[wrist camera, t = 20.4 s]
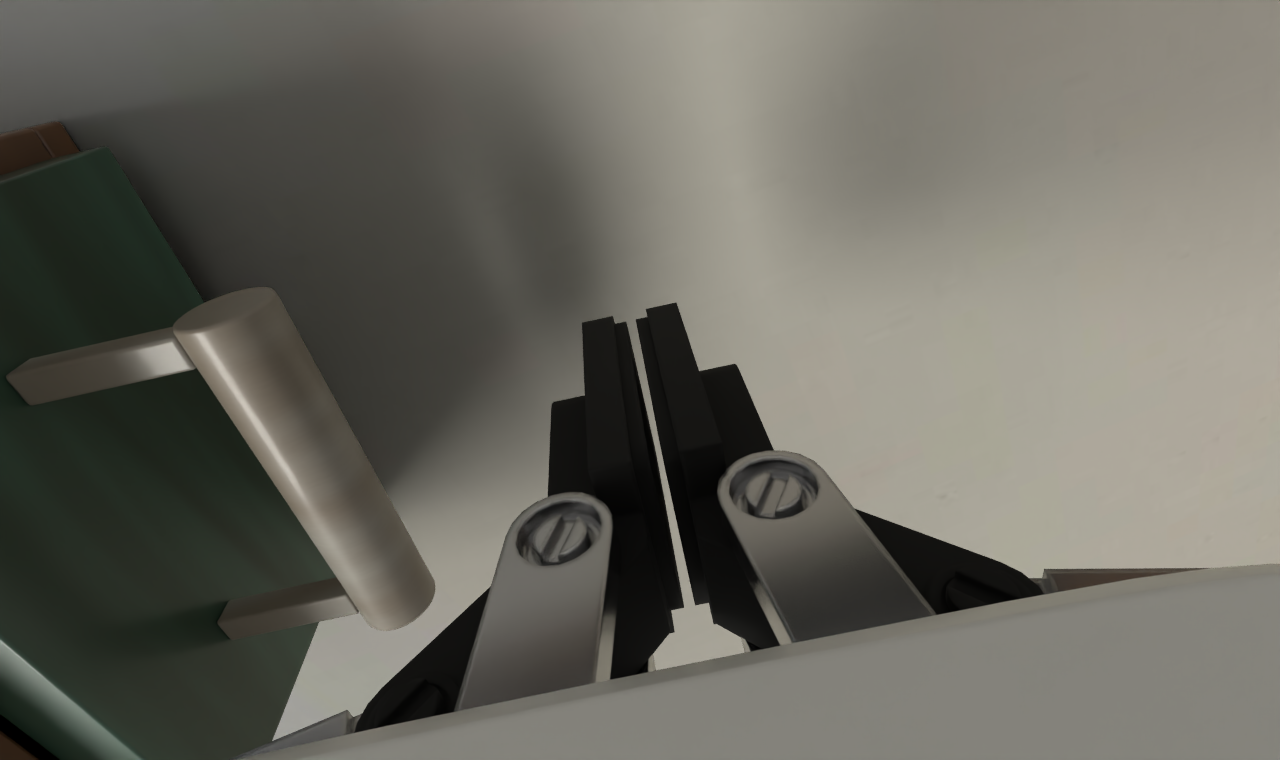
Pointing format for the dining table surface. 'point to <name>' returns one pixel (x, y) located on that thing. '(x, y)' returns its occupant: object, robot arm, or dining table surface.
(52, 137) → the cabinet
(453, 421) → the dining table surface
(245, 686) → the drawer
